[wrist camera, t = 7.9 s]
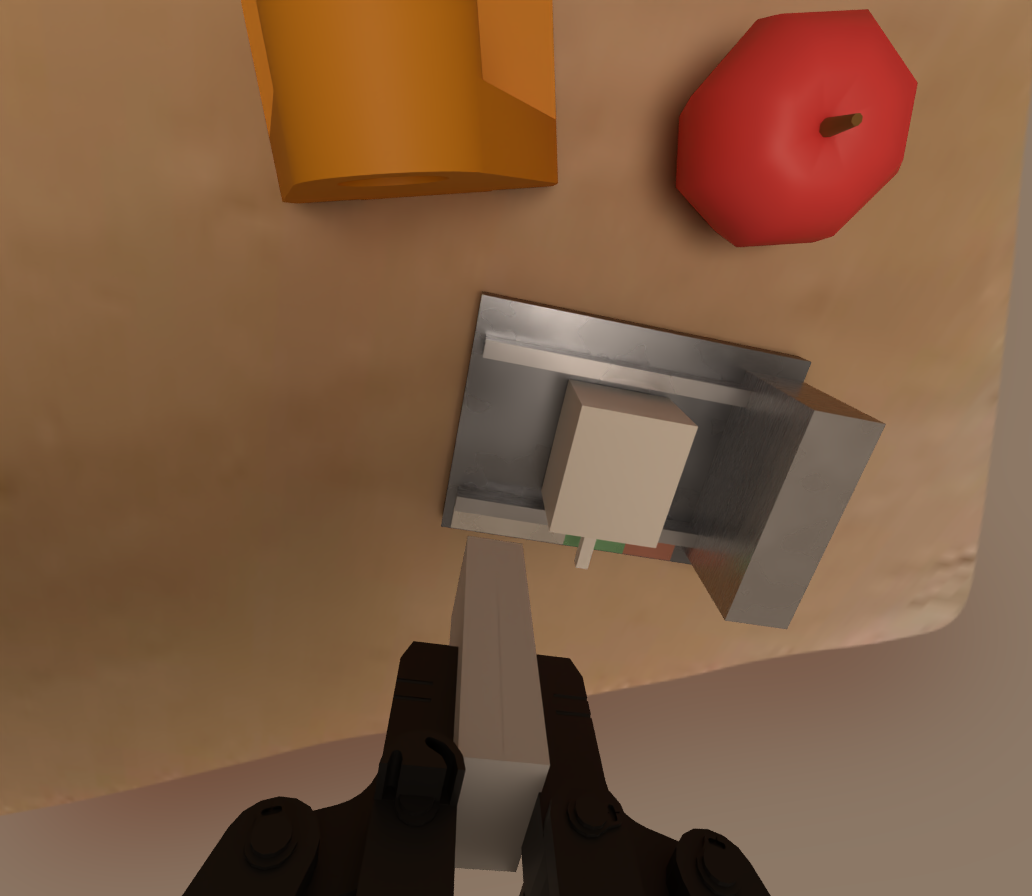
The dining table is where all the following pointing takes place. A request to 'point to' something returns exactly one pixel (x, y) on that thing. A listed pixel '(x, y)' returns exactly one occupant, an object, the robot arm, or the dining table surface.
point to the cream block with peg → (614, 466)
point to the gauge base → (710, 463)
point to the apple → (795, 128)
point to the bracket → (405, 95)
